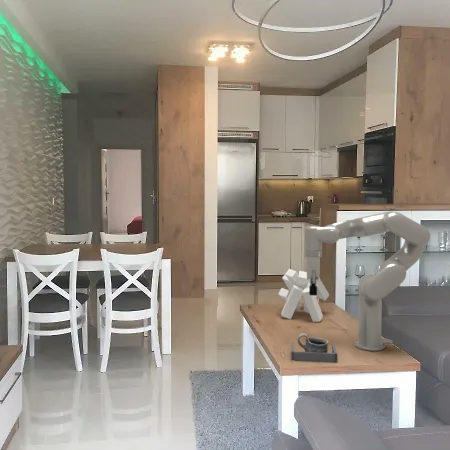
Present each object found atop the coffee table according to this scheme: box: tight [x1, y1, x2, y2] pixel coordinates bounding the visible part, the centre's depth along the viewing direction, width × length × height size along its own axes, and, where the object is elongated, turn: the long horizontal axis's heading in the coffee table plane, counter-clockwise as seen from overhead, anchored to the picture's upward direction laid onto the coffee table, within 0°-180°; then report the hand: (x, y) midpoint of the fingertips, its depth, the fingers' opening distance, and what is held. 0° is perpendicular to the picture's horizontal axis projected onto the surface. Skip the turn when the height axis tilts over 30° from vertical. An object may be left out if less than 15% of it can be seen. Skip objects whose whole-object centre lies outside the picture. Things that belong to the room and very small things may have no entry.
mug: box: [297, 332, 329, 353], centre depth 200 cm, size 10×12×10 cm
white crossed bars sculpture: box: [277, 268, 330, 323], centre depth 268 cm, size 35×30×35 cm
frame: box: [290, 342, 338, 364], centre depth 202 cm, size 18×13×4 cm
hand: (313, 294), depth 217 cm, fingers closed
